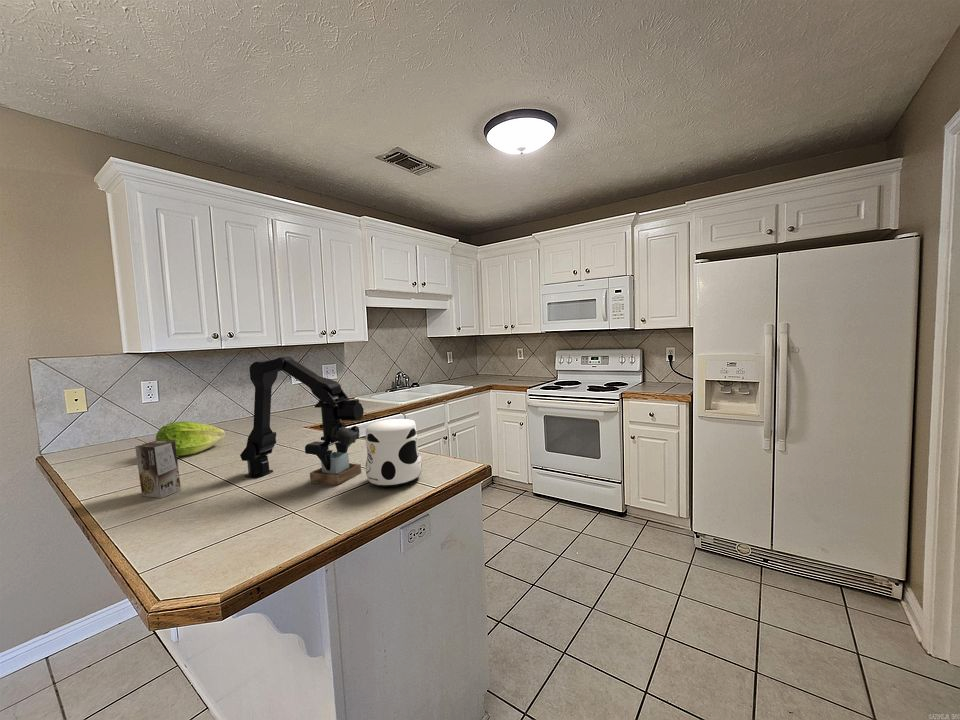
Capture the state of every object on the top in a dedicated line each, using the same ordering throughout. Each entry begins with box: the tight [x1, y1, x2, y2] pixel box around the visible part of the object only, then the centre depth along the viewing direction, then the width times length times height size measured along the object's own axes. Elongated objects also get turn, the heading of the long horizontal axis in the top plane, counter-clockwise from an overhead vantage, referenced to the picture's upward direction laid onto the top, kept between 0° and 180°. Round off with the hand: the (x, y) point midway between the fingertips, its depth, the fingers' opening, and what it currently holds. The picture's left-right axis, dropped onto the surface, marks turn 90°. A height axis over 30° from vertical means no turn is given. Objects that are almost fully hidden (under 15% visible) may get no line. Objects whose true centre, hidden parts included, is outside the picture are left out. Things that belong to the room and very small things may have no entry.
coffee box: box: [134, 440, 182, 499], centre depth 125 cm, size 9×6×16 cm
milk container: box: [364, 418, 423, 488], centre depth 125 cm, size 17×17×18 cm
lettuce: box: [155, 421, 226, 458], centre depth 171 cm, size 17×24×14 cm
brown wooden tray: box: [309, 462, 362, 487], centre depth 131 cm, size 11×11×3 cm
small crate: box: [320, 451, 350, 474], centre depth 131 cm, size 6×6×5 cm
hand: (335, 467), depth 131 cm, fingers closed on small crate, 6 cm apart
